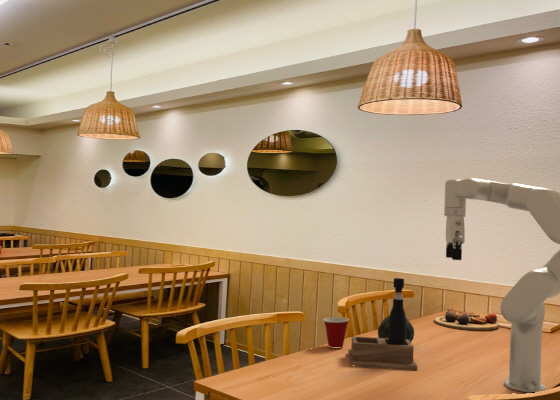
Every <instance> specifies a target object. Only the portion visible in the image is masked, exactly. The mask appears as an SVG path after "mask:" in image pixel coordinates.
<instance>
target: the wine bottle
mask: <svg viewBox="0 0 560 400" xmlns="http://www.w3.org/2000/svg"><path fill="white" fill-rule="evenodd" d="M392 287H393V288H394V289H395V290H394V294H393V298H392V308H391V310H390V313H389V316H390V317H389V334H388V344H393V345H406V318H407V316H406V312H405V308H404V298H403V296H404V295H403V289H404V288H405V279H404V278H399V277H394V278H393V286H392Z"/></svg>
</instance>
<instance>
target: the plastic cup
mask: <svg viewBox="0 0 560 400" xmlns="http://www.w3.org/2000/svg"><path fill="white" fill-rule="evenodd" d="M322 321H323V322H324V325H325V331H326V332H325V333H326V338H327V345H329V346H331V347H342V348H343V347H344V344H345V343H344V342H345V338H346V334H347V333H346V332H347V329H348V323H349V321H350V319H349V318H347V317H326V318H323V319H322ZM329 346H328V347H329Z"/></svg>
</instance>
